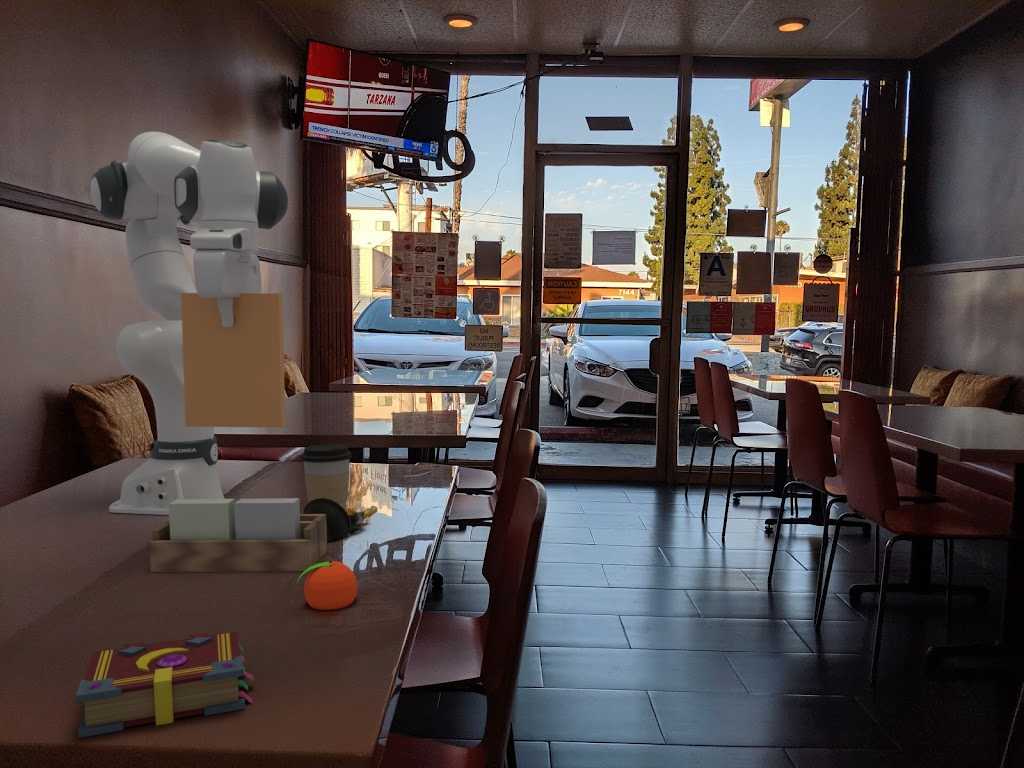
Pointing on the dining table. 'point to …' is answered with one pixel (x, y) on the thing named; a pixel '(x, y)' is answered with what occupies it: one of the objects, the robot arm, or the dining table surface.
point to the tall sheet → (233, 362)
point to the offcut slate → (267, 519)
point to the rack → (240, 551)
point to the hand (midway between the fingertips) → (232, 326)
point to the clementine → (330, 586)
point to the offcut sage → (202, 519)
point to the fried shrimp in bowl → (338, 517)
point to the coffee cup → (327, 472)
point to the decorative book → (162, 682)
